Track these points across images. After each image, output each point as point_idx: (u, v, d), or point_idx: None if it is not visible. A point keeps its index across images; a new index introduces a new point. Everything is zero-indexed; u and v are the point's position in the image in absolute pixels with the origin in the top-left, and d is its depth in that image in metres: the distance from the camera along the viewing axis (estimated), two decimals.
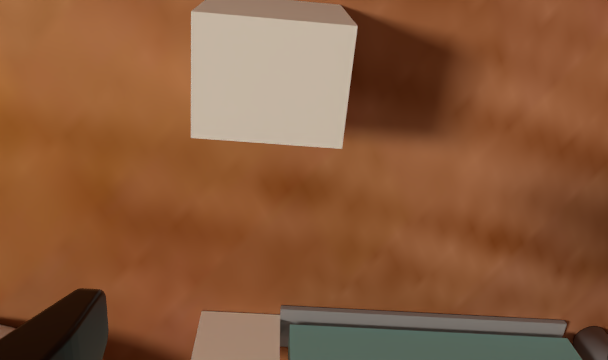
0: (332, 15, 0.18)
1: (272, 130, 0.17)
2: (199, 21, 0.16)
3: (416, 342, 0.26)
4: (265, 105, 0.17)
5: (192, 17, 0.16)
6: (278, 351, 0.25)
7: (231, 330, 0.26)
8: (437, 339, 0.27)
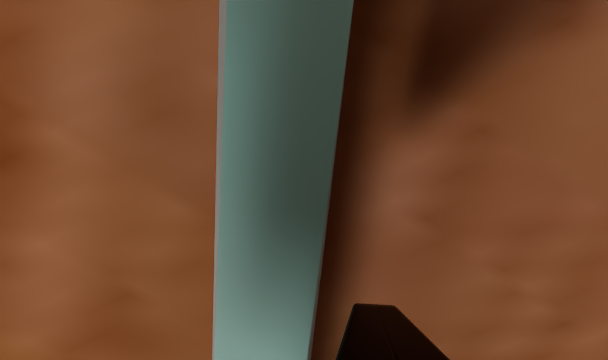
0: None
1: None
2: None
3: None
4: None
5: None
6: None
7: None
8: None
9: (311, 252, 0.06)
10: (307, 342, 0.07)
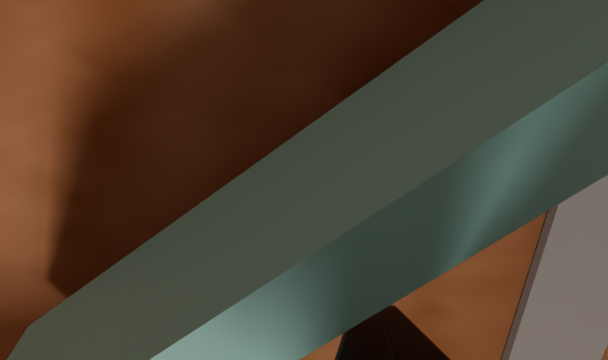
0: None
1: None
2: None
3: (246, 187, 0.10)
4: None
5: None
6: None
7: None
8: (296, 145, 0.10)
9: None
10: (514, 227, 0.06)
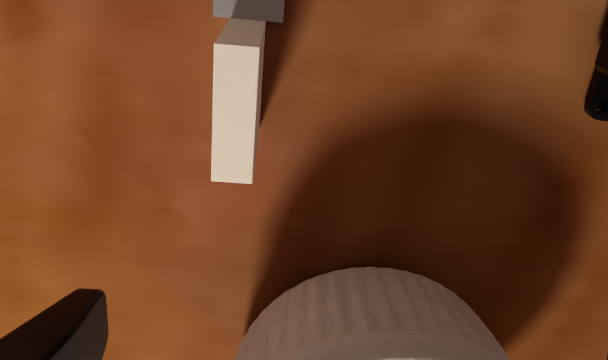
0: None
1: None
2: None
3: None
4: None
5: None
6: (223, 31, 0.16)
7: None
8: None
9: None
10: None
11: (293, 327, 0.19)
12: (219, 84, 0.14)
